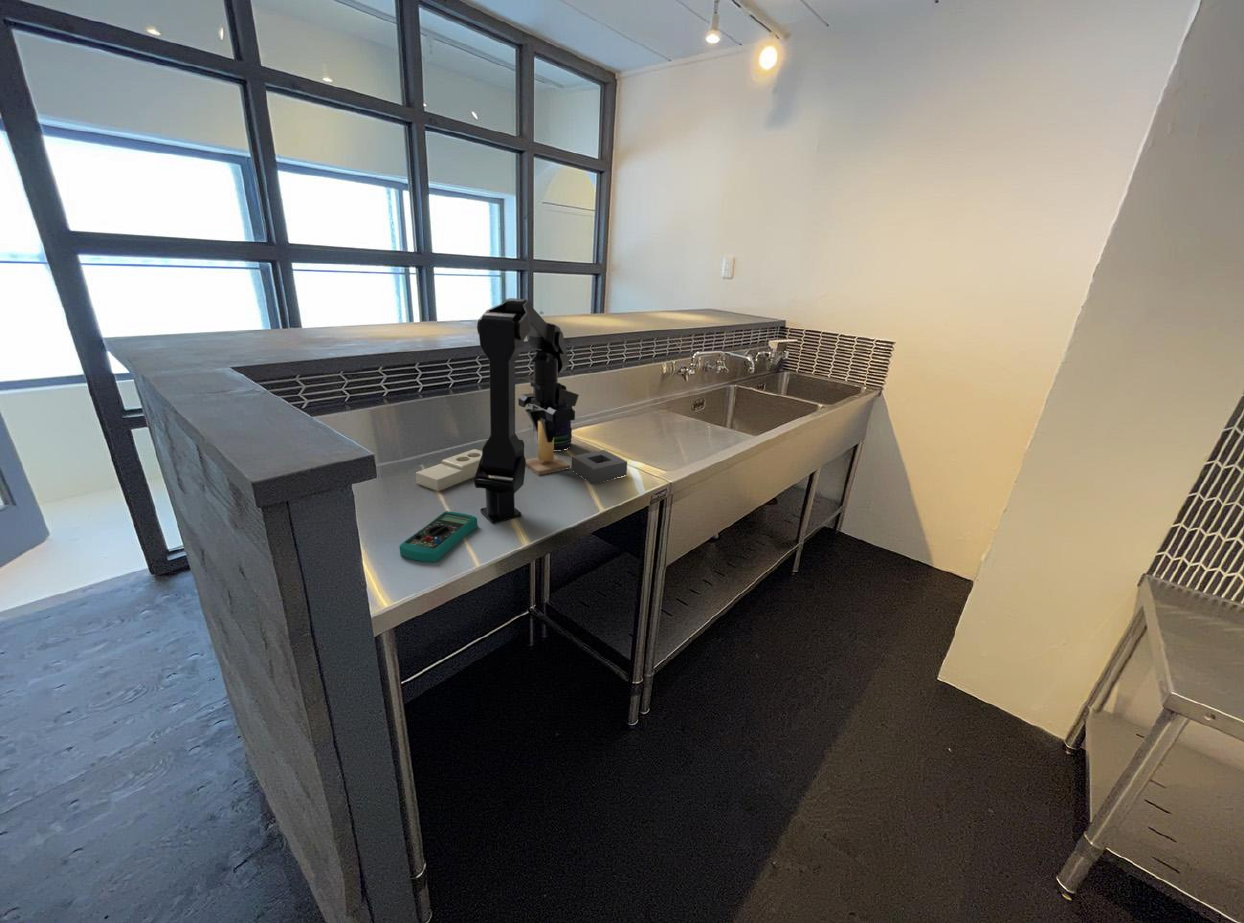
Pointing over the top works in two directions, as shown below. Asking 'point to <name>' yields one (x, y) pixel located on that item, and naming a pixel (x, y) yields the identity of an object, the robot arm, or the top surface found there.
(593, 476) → the socket block
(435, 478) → the electrical outlet
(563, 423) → the storage jar
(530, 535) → the top surface
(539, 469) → the tan square tile
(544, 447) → the amber plug
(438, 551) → the digital multimeter
